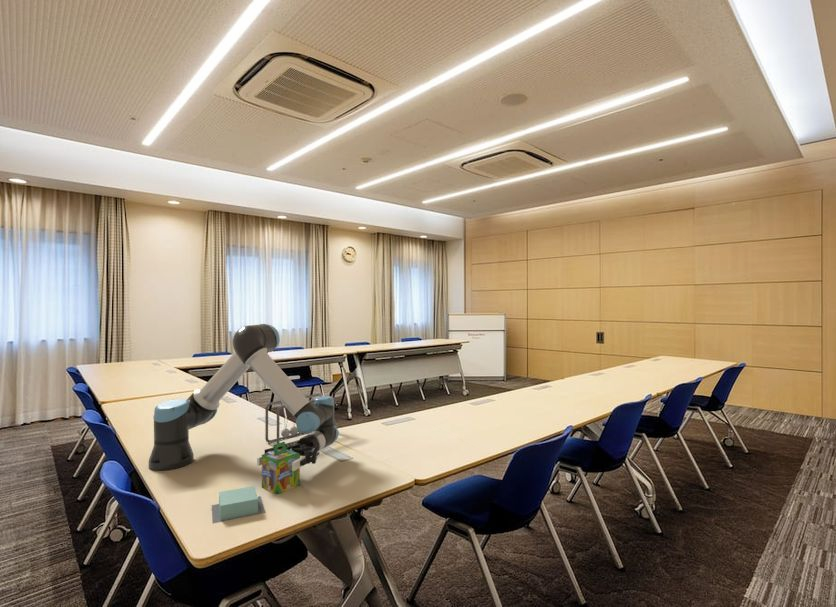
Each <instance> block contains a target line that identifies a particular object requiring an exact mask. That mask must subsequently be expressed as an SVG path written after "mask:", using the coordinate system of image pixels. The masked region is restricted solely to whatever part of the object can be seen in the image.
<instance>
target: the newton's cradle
mask: <svg viewBox="0 0 836 607" xmlns="http://www.w3.org/2000/svg"><path fill="white" fill-rule="evenodd" d="M304 396H305V397H306V398H307V399H308V401H309V402H310V403H311V404H313V403H315V398H317V397H320V396H324V395H323V394H321V393H315V394H309V395H304ZM331 397H332V398H333V399H334V400H335V398H334V397H333V396H331ZM313 398H314V399H313ZM280 404H282V405H280ZM270 406H276V407H277V410H276V438H273V439H269V407H270ZM282 409H287V408H286V407H285V406H284V404H283V403H282V402H281V401H280V400H277V401H272V402H271V401H270V402H268V403H267V404H266V405H265V412H264V413H265V422H264V423H265V424H264V425H265V429H264V430H265V431H264V432H265V435H264V436H265V437H264V438H265V441H266V442H267V443H268V444H269V442H271V444H273V445H275V444H278V443H280V441H282V440H281V439H283V440H286V439H285V438H287V439H290V438H289V437H291V438H294V437H293V436H295V437H298V436H301V435H300V434H302V435H305V434H304V433H302V432H300V431H299V430H298V429H297V426H296V423H293V424H292V425H293V426H292V427H290V429H289V428H287V426H288V423H285V427H284V428H283V429H282V430H281V432H280V412H281V410H282ZM287 413H290V411H289V410H288V409H287ZM291 415H292V414H291ZM283 416H284V422H286V421H288V418H289V416H287V420H285V419H286V418H285V415H283ZM292 420H294V416H293V415H292ZM312 432H314V431H312ZM312 432H311V433H312ZM280 435H281V436H280ZM297 435H298V436H297ZM273 441H275V442H273ZM298 441H299V439H298V440H293V441H291V442H289V443H290V444H292V445H295V444H294V443H296V444H297V442H298ZM287 443H288V442H287ZM287 443H286V442H285V444H287Z"/></svg>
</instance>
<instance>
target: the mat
mask: <svg viewBox="0 0 836 607" xmlns="http://www.w3.org/2000/svg"><path fill="white" fill-rule="evenodd" d="M257 497H258V513H253V514H248V515H243V516H238V517H233V518H228V519H223V520H220V511H219V503H217V504H212V505H211V516H212V517H211V520H212V524H217V523H222V522H226V521H227V522H228V521H231V520H236V519H237V520H238V519H241V518H247V517H251V516H256V515H261V514H266V509H265V506H264V503H263V500H262V497H261V495H260V496H257Z"/></svg>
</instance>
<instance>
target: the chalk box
mask: <svg viewBox="0 0 836 607" xmlns="http://www.w3.org/2000/svg"><path fill="white" fill-rule="evenodd" d="M285 444H286V441H281V442H279V443H278V444H273V446H272V448H274V451H272V452H268V453H265V452H264V453H263V454H261V455H262V465H261V488H262V489H264V490H266V491H268V492H269V493H270V492H271V493H272V494H274V495H281V494H283V493H285V492H287V491H290V490H292V489H295V488H297V487H299V486H300V480H301V479H300V478H301V476H300V475H301V474H300V473H301V472H300V470H301V467H300V468H298V469H297V470H295V471H292V462H294V461H296V460H297V459H299V458H301V456H300V454H299V453H297V452H294V451H292V450H287V449H286V445H285ZM279 446H282V447H283V449H279V450H277V448H278V447H279Z"/></svg>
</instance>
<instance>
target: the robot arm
mask: <svg viewBox="0 0 836 607" xmlns="http://www.w3.org/2000/svg"><path fill="white" fill-rule="evenodd" d="M280 341H281V339H280V334H279V331H278V330H277V329H276V327H274V326H273V325H271V324H267V323H260V324H253V325H244V326H243V327H240V328H238V330H236V332H235V333H234V335H233V338H232V346H233V351H234V352H233V353H232V354H231V356H229V358H228V359H227V360H226V361H225V362H224V364H222V366H220V367H219V369H218V370H217V371H216V372H215V373H214V374H213V376H212V377H211V378H210V379H209V380H208V381H207V382H206V384H205V385H203V386H202V387H201V388H196V389H195V390H194V391H193V392H192V393H191V395H189V396H188V398H187V399H185V398H173V399H171V400H165V401H162V402H160V403H158V404H157V405H156V406H155V407H154V411H153V412H154V413H153V447H152V449H151V450H152V451H151V454H150V457H149V459H148V469H150V470H153V471H154V470H155V471H167V470H169V471H170V470H174V469H178V468H182V467H185V466H188V465H190V464H192V463H193V461H195V460H194V458H195V457H194V451H193V449H192V446H191V444H190V441H189V437H190V436H189V434H190V433H189V432H190V431H189V430H191V429H193V428H197V427H198V426H202V425H204V424H206V423H208V422H210V421H212V419H214V418H215V416H216V415H217V412H218V409H219V407H220V401H221V400H222V399H223V397H225V395H226V394H227V393H228V392H229V391H230V390H231V389H232V387H233V386H234V385H235V384H236V383H237V382H238V381H239V380H240V379H241V377H242V376H244V374H246V372H247V371H248V369H250V368H251V369H252V370H253V372H255V373H256V375H257V376H258V377H259V379H260V380H262V381H263V383H264V384H265V385H266V386H267V388H268V389H270V391H272V393H273V394H274V395H275V397H276V398H277V399H278V401H281V402H282V403H281V404H282V405H283V404H284V406H285V407H286V408H285V409H287V411H288V410H289V413H290V414H291V415H293V418H294V419H295V427H297V429H298V430H299V431H300V432H302V433H306V434H305V435H304V436H302V437H301V438H299V439H298V440H299V441H298V442H297V443H296V444H292V445H290V442H287V444H286V443H285V445H286V449H287V450H292V451H294V452H297V453H299V454H300V458H299V459H297V460H296V461H294V462H292V471H295V470H297V469H298V468H300V469H301V467H304V466H305V465H309V464H312V465H315V464H316V462H317V459H318V456H320V451H322V450H324V449H326V448H327V447H328V446H330V445H332V444H333V443H335V442H336V441H337V439H339V435H340V434H339V433H340V432H339V430H338V427H337V426H336V425H335V398H334V397H333V396H330V395H329V396H328V395H323V396H317V397H314V399H315V402H313V403H310V402H309V401H308V399H309V398H306V397H305V396H306V395H305V394H303V392H302V391H301V390H300V389H299V388H298V386H296V385H295V383H294V382H293V381H292V380H291V379H290V377H289V376H288V375H287V374H286V373H285V372H284V371H283V370H282V368H281V367H280V366H279V365H278V364H277V363H276V361H274V360H273V358H272V357H271V356H270V355H269V354H268V353H271V352H274V351H275V350H276V349H277V348H278V346H279V344H280ZM332 397H333V398H334V399H333V398H332ZM312 431H314V432H312ZM279 449H283V447H282V446H279V447H278V448H277V450H279ZM272 451H274V448H273V447H271V448H266V449H264V454H265V453H268V452H272ZM262 455H263V454H261V455H260V456H258V457H256V466H257V467H259V466H262Z"/></svg>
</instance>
